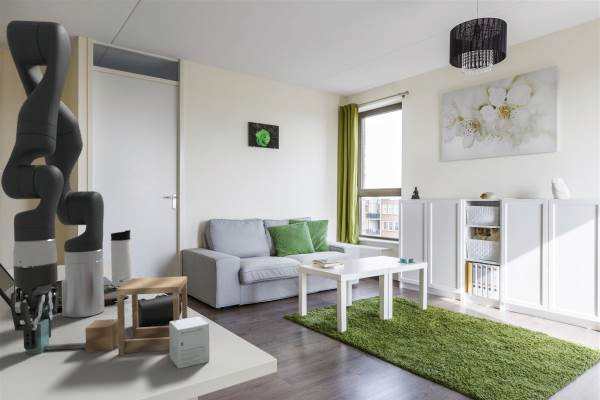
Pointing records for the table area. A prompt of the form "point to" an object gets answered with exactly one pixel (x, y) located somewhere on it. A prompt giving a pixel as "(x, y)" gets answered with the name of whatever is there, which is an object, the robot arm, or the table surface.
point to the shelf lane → (145, 335)
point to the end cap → (156, 310)
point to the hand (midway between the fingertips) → (38, 343)
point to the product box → (189, 341)
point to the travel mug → (121, 257)
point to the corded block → (97, 337)
